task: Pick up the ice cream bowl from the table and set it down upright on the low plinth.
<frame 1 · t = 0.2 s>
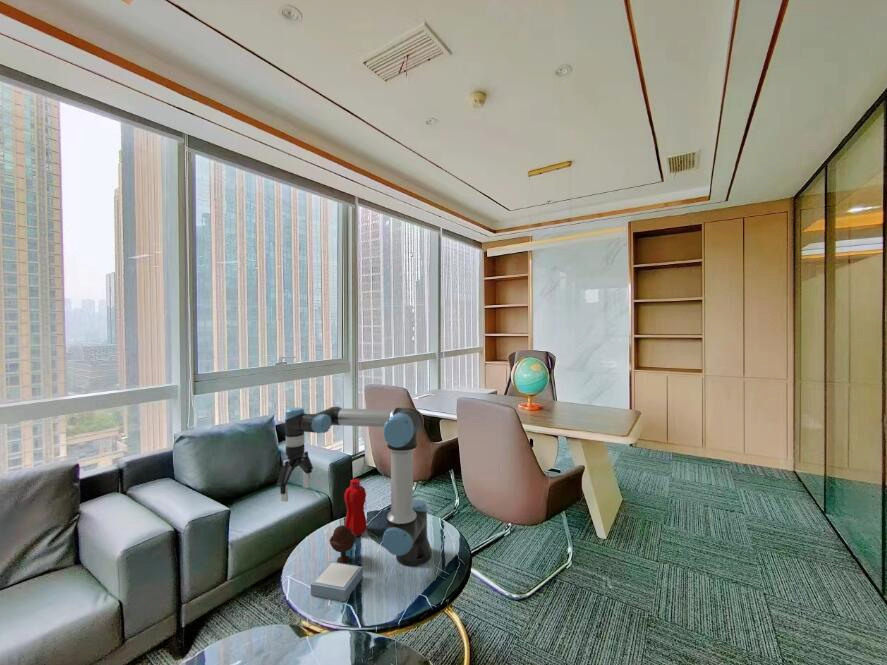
hand: (295, 494, 163), 27 cm above the table, tool pointing down, fingers open, 13 cm apart
water bottle: (357, 532, 184), on the table
base plinth: (337, 585, 146), on the table
ice cream bowl: (343, 560, 162), on the table
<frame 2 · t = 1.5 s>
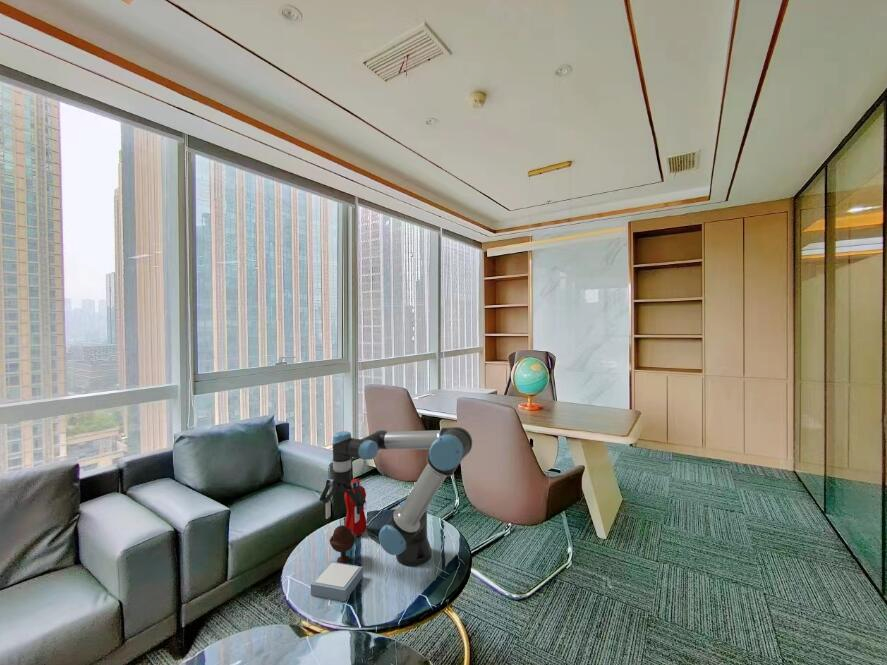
hand: (342, 519, 161), 17 cm above the table, tool pointing down, fingers open, 13 cm apart
nothing on the table moved.
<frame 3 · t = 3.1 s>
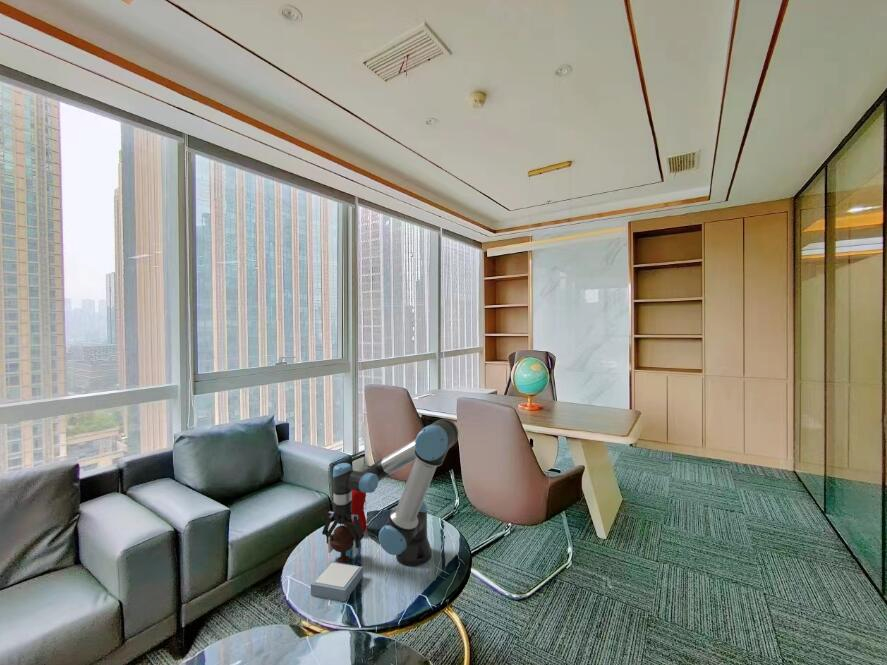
hand: (343, 552, 162), 3 cm above the table, tool pointing down, fingers closed on ice cream bowl, 11 cm apart
ice cream bowl: (343, 560, 162), on the table, touching gripper
everything else where it was.
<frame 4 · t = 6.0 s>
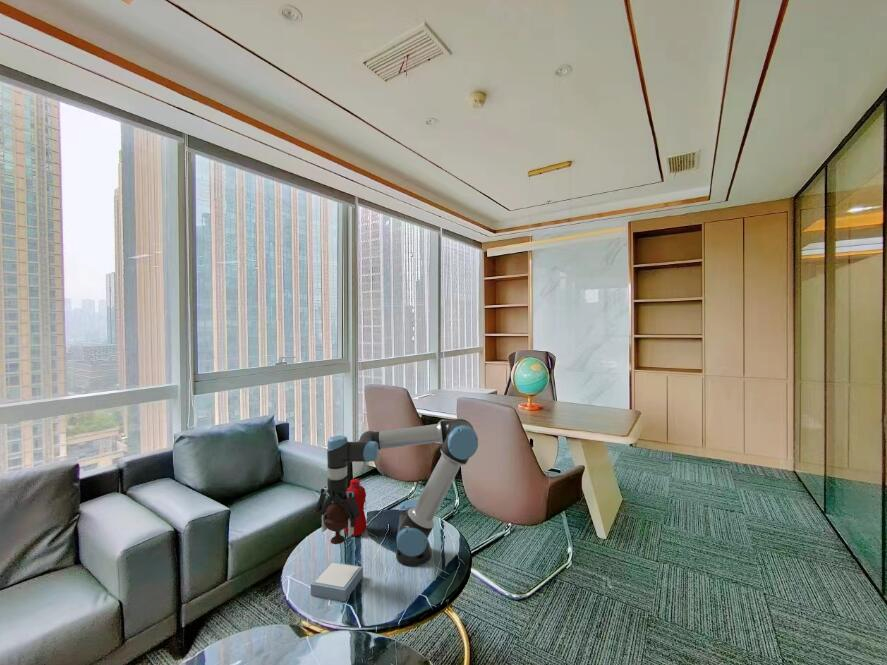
hand: (337, 532, 149), 18 cm above the table, tool pointing down, fingers closed on ice cream bowl, 11 cm apart
ice cream bowl: (337, 540, 149), point 15 cm above the table, touching gripper
everything else where it was.
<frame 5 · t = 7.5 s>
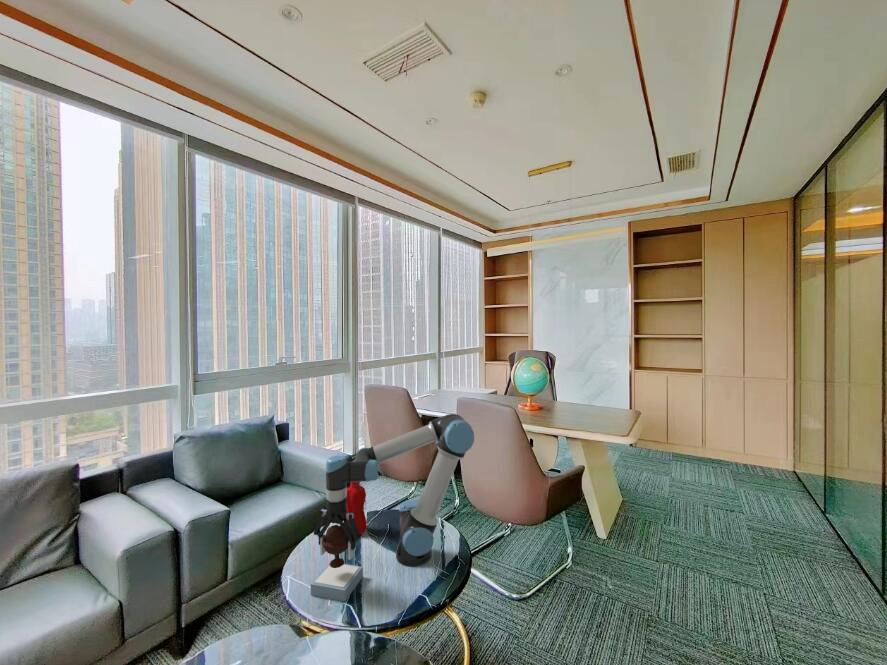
hand: (336, 555, 145), 12 cm above the table, tool pointing down, fingers closed on ice cream bowl, 11 cm apart
ice cream bowl: (337, 564, 145), point 8 cm above the table, touching gripper
everything else where it was.
when the fingers open (8 cm above the table, at t = 8.7 s): ice cream bowl stays where it is, resting on base plinth.
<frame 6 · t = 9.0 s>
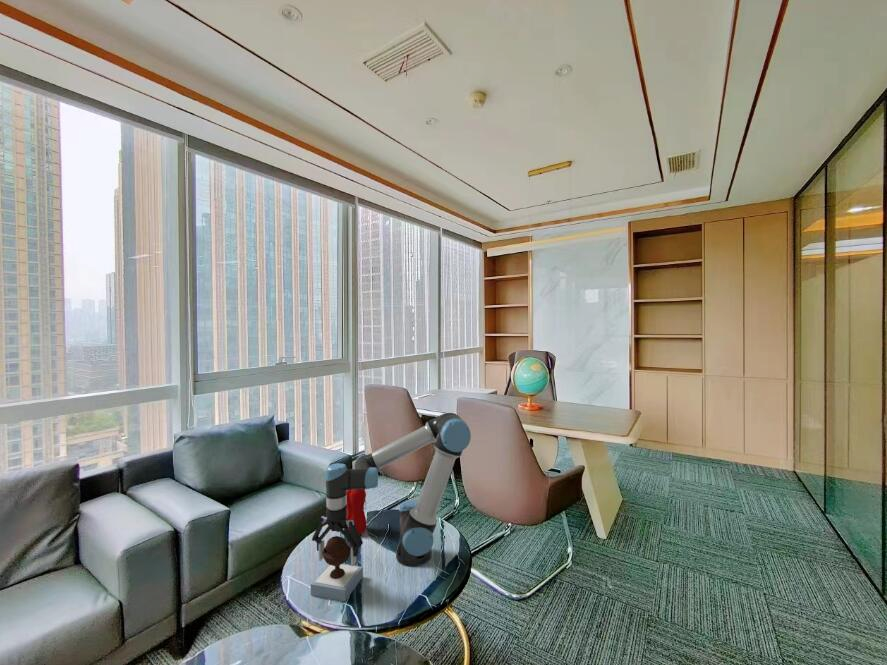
hand: (337, 561, 145), 9 cm above the table, tool pointing down, fingers open, 13 cm apart
ice cream bowl: (337, 574, 146), point 4 cm above the table, touching base plinth
everything else where it was.
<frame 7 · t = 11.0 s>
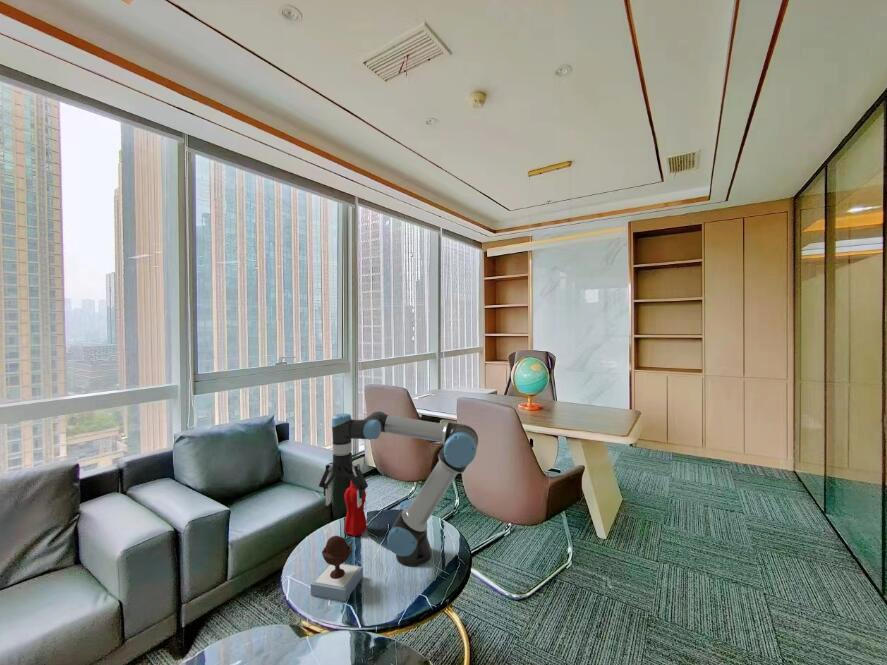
hand: (343, 505, 155), 26 cm above the table, tool pointing down, fingers open, 13 cm apart
nothing on the table moved.
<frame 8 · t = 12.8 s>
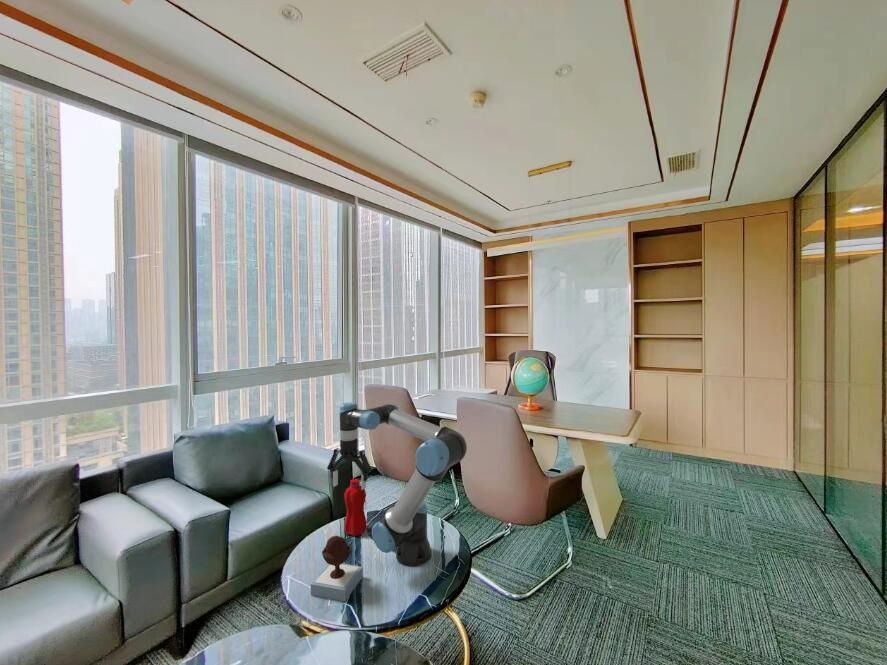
hand: (349, 486, 167), 29 cm above the table, tool pointing down, fingers open, 13 cm apart
nothing on the table moved.
at the end: ice cream bowl 0.1 cm from the base plinth (horizontally); ice cream bowl touching base plinth; ice cream bowl tilted 0° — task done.
